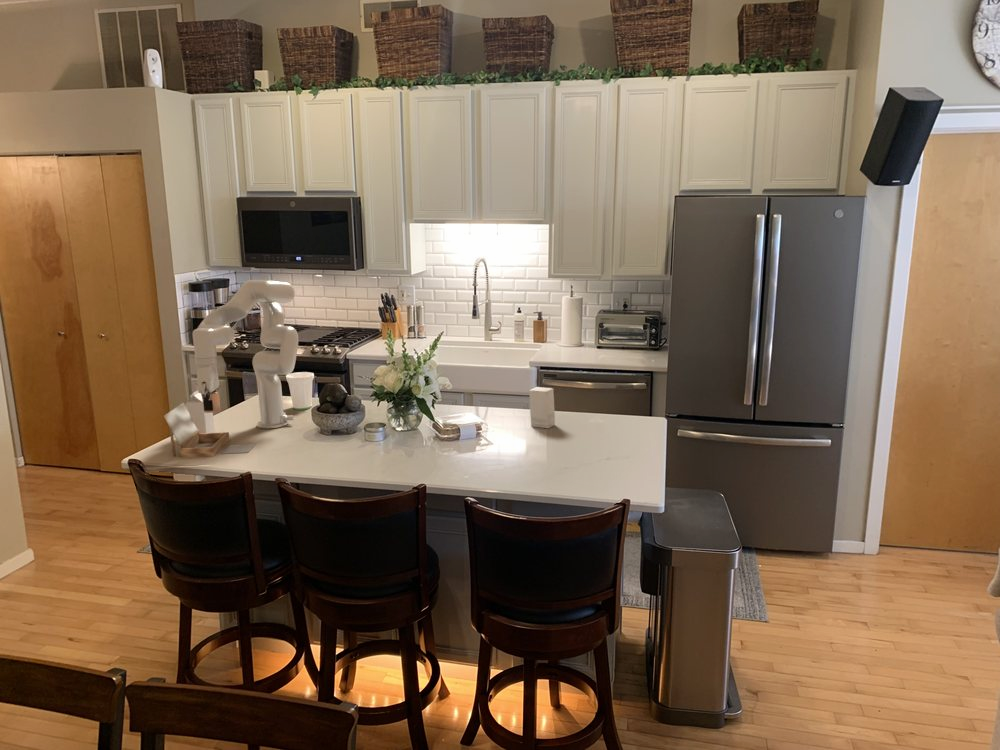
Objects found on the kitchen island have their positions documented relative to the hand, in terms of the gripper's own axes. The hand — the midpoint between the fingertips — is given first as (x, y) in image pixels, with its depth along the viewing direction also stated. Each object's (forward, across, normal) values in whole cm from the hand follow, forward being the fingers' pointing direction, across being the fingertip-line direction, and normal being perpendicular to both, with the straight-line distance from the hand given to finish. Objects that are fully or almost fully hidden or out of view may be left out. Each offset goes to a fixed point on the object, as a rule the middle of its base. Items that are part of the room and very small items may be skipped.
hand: (211, 407), depth 284 cm
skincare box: (+17, -18, +126) cm, 128 cm away
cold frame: (+16, 0, -6) cm, 18 cm away
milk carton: (+17, -18, -12) cm, 27 cm away
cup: (+17, -60, +19) cm, 65 cm away
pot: (+1, 0, 0) cm, 1 cm away
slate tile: (+16, +2, +9) cm, 19 cm away
